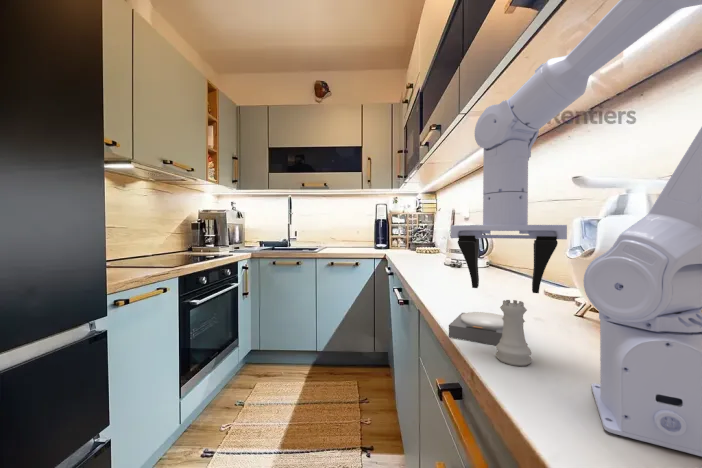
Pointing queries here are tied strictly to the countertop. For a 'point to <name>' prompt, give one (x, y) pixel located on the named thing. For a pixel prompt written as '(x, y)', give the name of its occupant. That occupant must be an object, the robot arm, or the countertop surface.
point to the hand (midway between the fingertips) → (504, 289)
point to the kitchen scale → (477, 327)
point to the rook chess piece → (513, 336)
